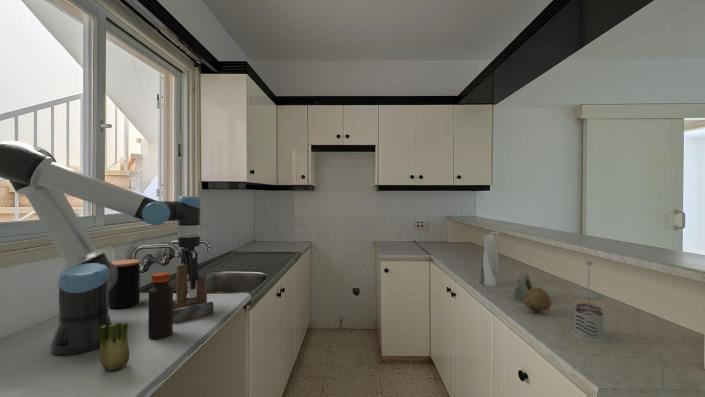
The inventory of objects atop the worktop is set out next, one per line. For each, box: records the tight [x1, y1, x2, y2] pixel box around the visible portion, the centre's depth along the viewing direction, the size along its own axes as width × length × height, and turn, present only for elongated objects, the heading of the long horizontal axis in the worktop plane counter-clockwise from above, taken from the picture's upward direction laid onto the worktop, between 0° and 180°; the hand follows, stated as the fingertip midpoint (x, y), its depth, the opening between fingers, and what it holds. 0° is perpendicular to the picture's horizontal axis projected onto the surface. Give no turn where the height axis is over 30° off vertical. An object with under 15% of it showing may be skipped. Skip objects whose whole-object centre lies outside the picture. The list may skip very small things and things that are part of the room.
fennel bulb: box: [99, 321, 130, 372], centre depth 85 cm, size 6×5×12 cm
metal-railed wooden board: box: [173, 296, 214, 324], centre depth 124 cm, size 14×13×4 cm
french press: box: [564, 260, 608, 344], centre depth 108 cm, size 10×12×25 cm
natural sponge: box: [523, 287, 552, 314], centre depth 128 cm, size 9×9×10 cm
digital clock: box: [514, 272, 534, 302], centre depth 146 cm, size 16×9×11 cm, turn 132°
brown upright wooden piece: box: [175, 263, 208, 309], centre depth 124 cm, size 4×11×18 cm, turn 103°
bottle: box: [147, 271, 174, 340], centre depth 105 cm, size 7×7×20 cm
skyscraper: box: [479, 231, 500, 288], centre depth 168 cm, size 8×8×28 cm
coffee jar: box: [108, 258, 141, 310], centre depth 133 cm, size 11×11×18 cm
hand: (188, 294), depth 124 cm, fingers open, 9 cm apart
